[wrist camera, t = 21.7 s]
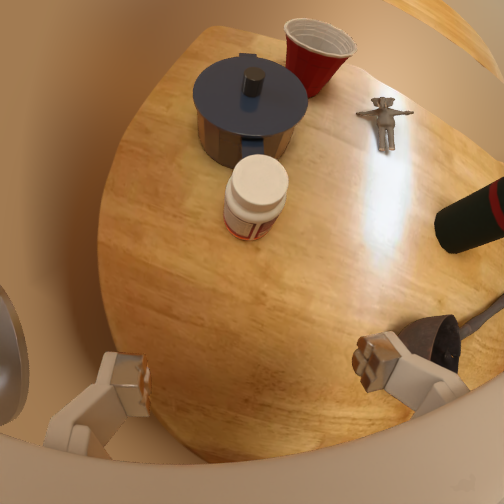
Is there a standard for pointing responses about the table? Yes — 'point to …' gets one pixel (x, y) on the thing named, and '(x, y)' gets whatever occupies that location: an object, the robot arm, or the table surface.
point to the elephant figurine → (385, 120)
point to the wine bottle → (472, 219)
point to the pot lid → (250, 97)
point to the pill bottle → (254, 196)
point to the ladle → (443, 336)
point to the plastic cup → (316, 51)
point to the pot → (238, 142)
